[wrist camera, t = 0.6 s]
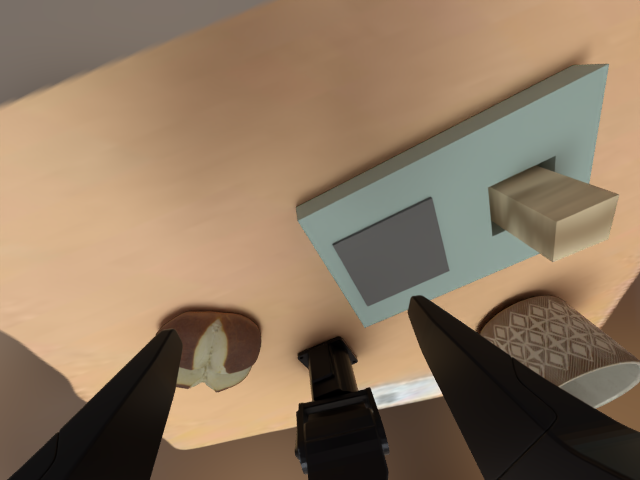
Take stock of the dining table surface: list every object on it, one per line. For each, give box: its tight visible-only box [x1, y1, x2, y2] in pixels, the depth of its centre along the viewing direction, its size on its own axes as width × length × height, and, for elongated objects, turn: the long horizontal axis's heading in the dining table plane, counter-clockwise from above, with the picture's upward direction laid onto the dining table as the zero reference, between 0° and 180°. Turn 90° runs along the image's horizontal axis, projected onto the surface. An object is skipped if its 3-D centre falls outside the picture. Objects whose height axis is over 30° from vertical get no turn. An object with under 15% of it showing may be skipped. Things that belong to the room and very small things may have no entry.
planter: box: [480, 296, 640, 409], centre depth 33 cm, size 13×13×10 cm
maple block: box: [488, 165, 619, 262], centre depth 21 cm, size 4×4×8 cm
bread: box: [156, 311, 261, 392], centre depth 28 cm, size 11×11×5 cm
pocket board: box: [296, 64, 609, 328], centre depth 24 cm, size 16×24×3 cm, turn 116°
